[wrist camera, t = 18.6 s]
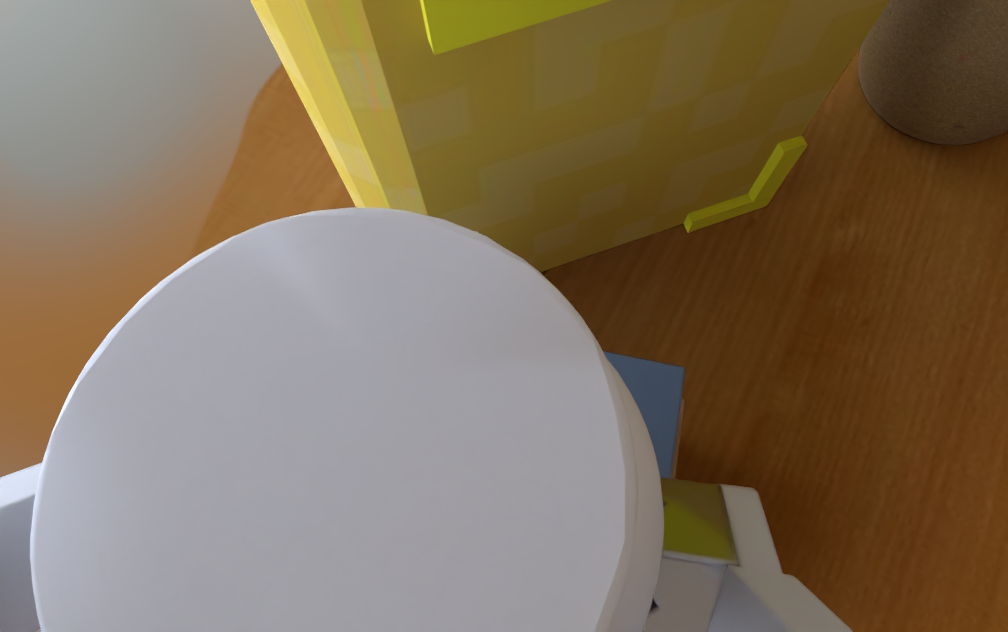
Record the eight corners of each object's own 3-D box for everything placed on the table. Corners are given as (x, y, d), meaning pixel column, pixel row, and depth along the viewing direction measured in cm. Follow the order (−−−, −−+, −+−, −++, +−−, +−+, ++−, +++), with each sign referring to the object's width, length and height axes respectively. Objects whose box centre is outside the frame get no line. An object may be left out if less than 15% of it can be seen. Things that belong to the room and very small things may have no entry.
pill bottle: (643, 630, 15) (916, 819, 4) (369, 720, 14) (-85, 1173, 4) (554, 367, 17) (586, 51, 6) (313, 440, 16) (-81, 236, 6)
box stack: (608, 738, 23) (668, 885, 13) (312, 660, 25) (152, 739, 14) (653, 431, 27) (729, 355, 17) (392, 376, 28) (310, 274, 18)
